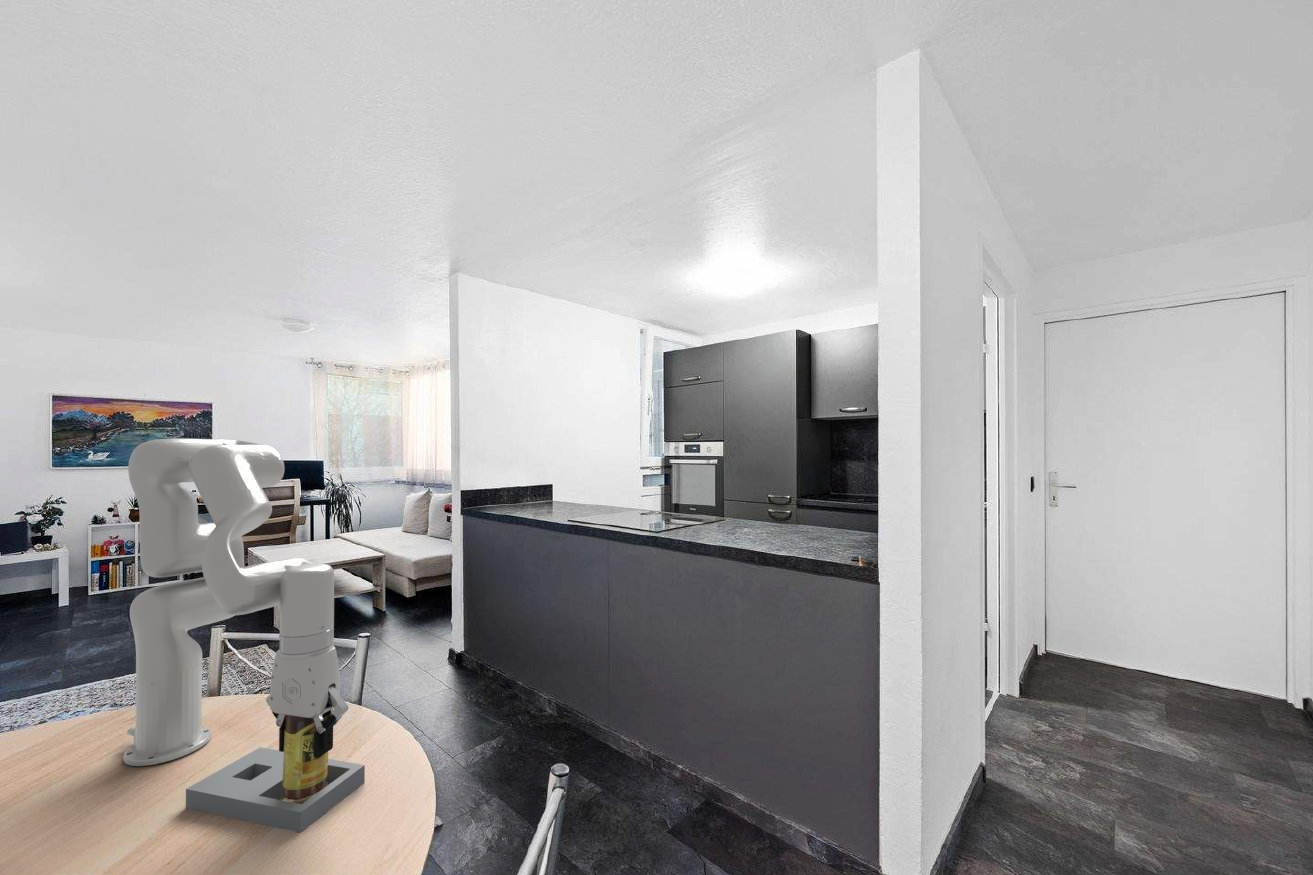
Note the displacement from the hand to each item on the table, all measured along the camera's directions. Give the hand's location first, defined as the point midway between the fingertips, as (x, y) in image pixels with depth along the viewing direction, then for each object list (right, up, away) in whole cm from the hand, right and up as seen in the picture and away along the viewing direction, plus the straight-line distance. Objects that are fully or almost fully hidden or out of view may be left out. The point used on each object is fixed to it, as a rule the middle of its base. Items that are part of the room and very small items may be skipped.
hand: (306, 749), depth 89 cm
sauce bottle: (0, -7, 0) cm, 7 cm away
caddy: (-6, -8, +1) cm, 10 cm away
